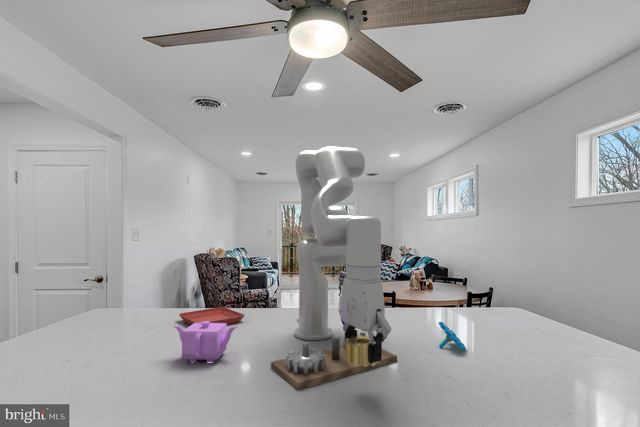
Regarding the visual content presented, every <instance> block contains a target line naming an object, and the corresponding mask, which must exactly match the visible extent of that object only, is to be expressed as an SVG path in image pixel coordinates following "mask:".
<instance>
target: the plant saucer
mask: <svg viewBox="0 0 640 427" xmlns="http://www.w3.org/2000/svg"><path fill="white" fill-rule="evenodd" d="M178 315H179V317H180V318H181V319H182V320H183V321H184V322H185V323H186V322H187V324H188V323H189V325H190V324H191V325H192V324H194V323H201V322H203V321H209V322H210V323H226V324H227V326H228V324H229V325H233V323H234V324H238V323H240V322H241V321H242V320H243V318H245V316H246V315H245V314H244V313H240V312H238V311H236V310H232V309H231V308H227V307H225V306H219V307H213V308H206V309H199V310H193V311H186V312H181V313H179V314H178ZM191 325H190V326H191Z"/></svg>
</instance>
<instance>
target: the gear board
mask: <svg viewBox="0 0 640 427" xmlns="http://www.w3.org/2000/svg"><path fill="white" fill-rule="evenodd" d="M340 340H341V339H340V338H339V337H332V338H331V347H330V348H326V349H321V350H317V351H318V352H319V351H322V352H323V354H325V366H324V369H323V370H318V372H317V373H313V372H309V373H308V374H304V373H302V372H299V373H294V371H293V370H291V371H289V370H287V367H286V358H281V359H279V360H273V361H270V368H271V369H272V370H273V371H274V372H276V373H277V374H278V375H279V376H280V377H282V378H283V379H284V380H285V381H287V383H289V384H290V385H291V386H292V387H294V388H295V389H296V390H298V391H300V390H302V389H306V388H311V387H314V386H316V385H320V384H324V383H327V382H330V381H333V380H337V379H341V378H345V377H348V376H351V375H355V374H358V373H362V372H365V371H369V370H373V369H375V368H379V367H383V366H385V365H389V364H390V365H391V364H392V363H396V362H398V355H397V354H394V353H392V352H390V351H387V350H386V349H383V348H382V359H381V361H379V363H378V364H376V363H375V366H370V365H367V367H363V365H359V366H354V364H353V363H352V364H349V363H347V361H346V360H345V348H344V346H345V344H344V345H341V344H340Z"/></svg>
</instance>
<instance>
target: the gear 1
mask: <svg viewBox="0 0 640 427" xmlns="http://www.w3.org/2000/svg"><path fill="white" fill-rule="evenodd" d="M318 351H319V352H318ZM285 359H286V367H287V370H289V371H291V370H293V371H294V373H299V372H302V373H304V374H308V373H309V372H313V373H317V372H318V370H323V369H324V366H325V354H323V352H322V351H321V350H317V349H315V348H312V349H310V345H309V344H307V343H306V344H302V349H294V351H289V352H288V353H287V354H286V355H285Z"/></svg>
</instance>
